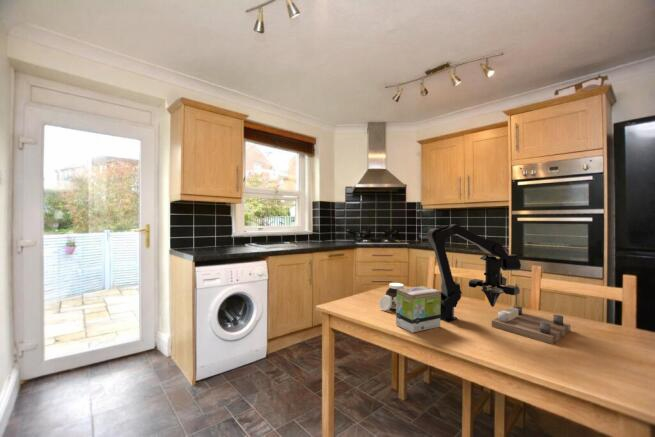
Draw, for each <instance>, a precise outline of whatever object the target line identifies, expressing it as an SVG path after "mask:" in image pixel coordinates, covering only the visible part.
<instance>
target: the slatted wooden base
mask: <svg viewBox="0 0 655 437" xmlns="http://www.w3.org/2000/svg"><path fill="white" fill-rule="evenodd" d="M513 308H516V309H518V317H516V318H514V319H512V320H510V321H509V322H500V321H498V317H496V318H494V319H492V320H491V327H492V328H496V329H499V330H502V331H506V332H509V333H512V334H516V335H520V336H522V337H527V338H528V339H533V340H536V341H540V342H543V343H546V344H549V345H553V344H555V343H557V342H558V341H559V340H560V339H562V338H563V337H564V336H566V334H568V333H569V332H571V324H570V323H566V322H564V316H563V315H559V314H553V316H552V317H553V318H552V319H550V318H546V317H541V316H536V315H533V314H529V313H524V312H523V307H522V306H519V305H514V306H513Z"/></svg>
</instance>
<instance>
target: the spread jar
mask: <svg viewBox="0 0 655 437" xmlns="http://www.w3.org/2000/svg"><path fill="white" fill-rule="evenodd" d="M404 287H405V284H403V283H400V282H391V283H389V285H388V289H387V290H386V291H385V295H383V296H381V297H380V299H379V301H378V302H379V303H378V305H379V308H380V310H382V311H384V312H388V311H389V310H390V311H394V312H396V301H397V289H405V288H404Z"/></svg>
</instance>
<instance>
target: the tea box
mask: <svg viewBox="0 0 655 437" xmlns="http://www.w3.org/2000/svg"><path fill="white" fill-rule="evenodd" d="M441 292H442V290H439V289H435V288H431V287H427V286H425V285H422V286H421V285H420V286H413V287H405V288H404V289H397V301H396V311H395V312H396V313H395V325H397V327H399V328H402V329H404V330H405V331H407V332H410V333H411V334H412V333H413V334H414V333H417V332H420V331H424V330H431V329H436V328H439V327H441V319H440V314H441V310H440V309H441Z"/></svg>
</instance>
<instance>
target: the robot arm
mask: <svg viewBox="0 0 655 437" xmlns="http://www.w3.org/2000/svg"><path fill="white" fill-rule="evenodd" d="M454 235H455V236H458V238H462V239H463V240H465V241H468V242H469V243H471V244H473V245H475V246H477V247H478V248H479V249H480V250H481V251H483V252H484V254H483V255H482V256H481V257H479V259H480V260H482V261H485V264H484V265H485V267H484V268H485V270H484V272H483V275H484V276H485V277H484V278H485V280H481V279H477V278H473V279H470V280H468V287H470V288H477V287H482V288H481V289H480V290H481V292H483V293H484V295H485V297H486V299H487V300H488V303H489V305H490V306H491V307H492V308H494V307H495V305H496V303H497V300H498V299H499V297H500V295H501V294H506V295H508V296H509V295H510V296H515V295H516V296H517V295H519V294H520V288H519V286H518V285H517V286H516V285H511V284H508V285H507V281H508V279H507V278H506V277H504V276H503V272H501V271H505V272H506V271H509V272H510V271H511V272H512V271H516V272H517V271H520V269H521V267H522V263H521V261H520V259H519V257H518V255H517V254H507V252H506V250H505V249H504V246H503V244H502V243H501V242H498V241H495V240H493V239H492V240H491V239H489V238H488V239H487V238H485V237H483V236H480V235H478V234H476V233H474V232H472V231H470V230H468V229H466V228H464V227H462V226H461V225H459V224H455V223H453V224H449V225H446V226H443V227H439V228H432V227H431V228H429V229H428V231H427V232H426V238H427V239H428V242H429V244H430V245H431V247H432V248H433V250H434V255H435V258H436V262H437V266H438V270H439V274H440V277H441V286H440V288H441V289H440V291H441V309H440V310H441V314H440V320H442V321H444V322H445V321H446V322H453V321H455V320H458V317H457V316H455V308H456V307H457V304H458V302H459V301H460V300H461V298H462V294H463V292H462V290H461V286H460V283H458V282H456V281H454V278H453V275H452V274H453V273H452V269H451V266H450V262H449V258H448V254H447V251H446V243H447V238H450V237H453V236H454Z"/></svg>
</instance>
